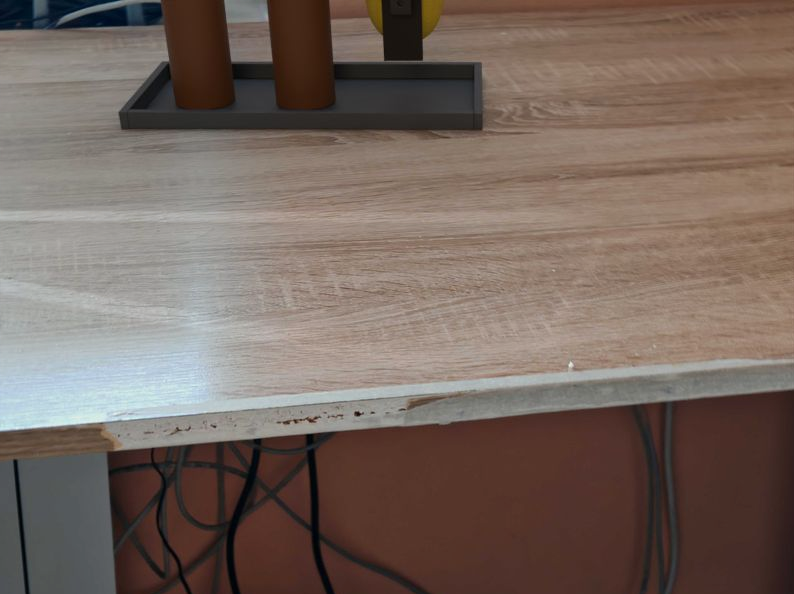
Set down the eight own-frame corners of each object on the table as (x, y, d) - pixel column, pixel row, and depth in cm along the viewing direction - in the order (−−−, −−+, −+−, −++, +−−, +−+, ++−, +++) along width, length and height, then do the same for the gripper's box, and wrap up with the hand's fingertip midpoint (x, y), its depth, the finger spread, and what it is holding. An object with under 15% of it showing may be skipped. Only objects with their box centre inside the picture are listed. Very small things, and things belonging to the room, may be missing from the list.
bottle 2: (271, 110, 79) (253, -76, 72) (281, 91, 82) (264, -88, 76) (332, 110, 79) (319, -76, 72) (338, 91, 82) (327, -87, 76)
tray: (122, 136, 76) (118, 112, 75) (165, 83, 86) (161, 61, 85) (482, 137, 76) (482, 112, 75) (481, 84, 86) (481, 61, 85)
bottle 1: (168, 110, 79) (141, -76, 72) (182, 91, 82) (158, -88, 76) (229, 110, 79) (207, -76, 72) (240, 91, 82) (220, -88, 76)
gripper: (451, -336, 58) (455, 86, 70) (457, -329, 74) (459, 14, 86) (313, -335, 58) (340, 86, 70) (347, -328, 74) (365, 15, 86)
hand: (406, 46), depth 78 cm, fingers closed on lemon, 5 cm apart
